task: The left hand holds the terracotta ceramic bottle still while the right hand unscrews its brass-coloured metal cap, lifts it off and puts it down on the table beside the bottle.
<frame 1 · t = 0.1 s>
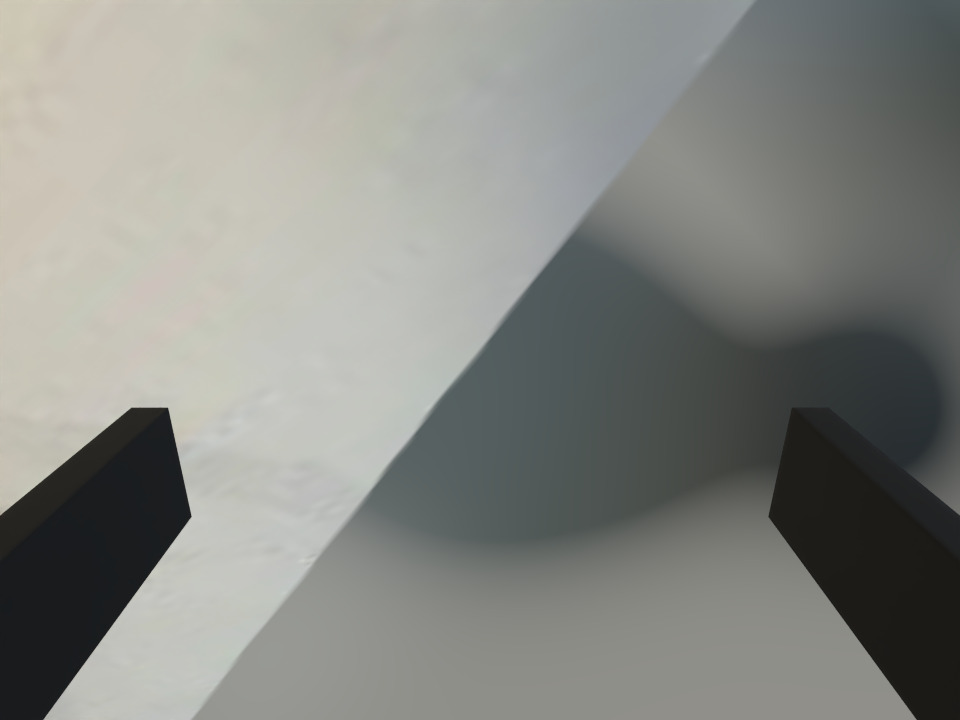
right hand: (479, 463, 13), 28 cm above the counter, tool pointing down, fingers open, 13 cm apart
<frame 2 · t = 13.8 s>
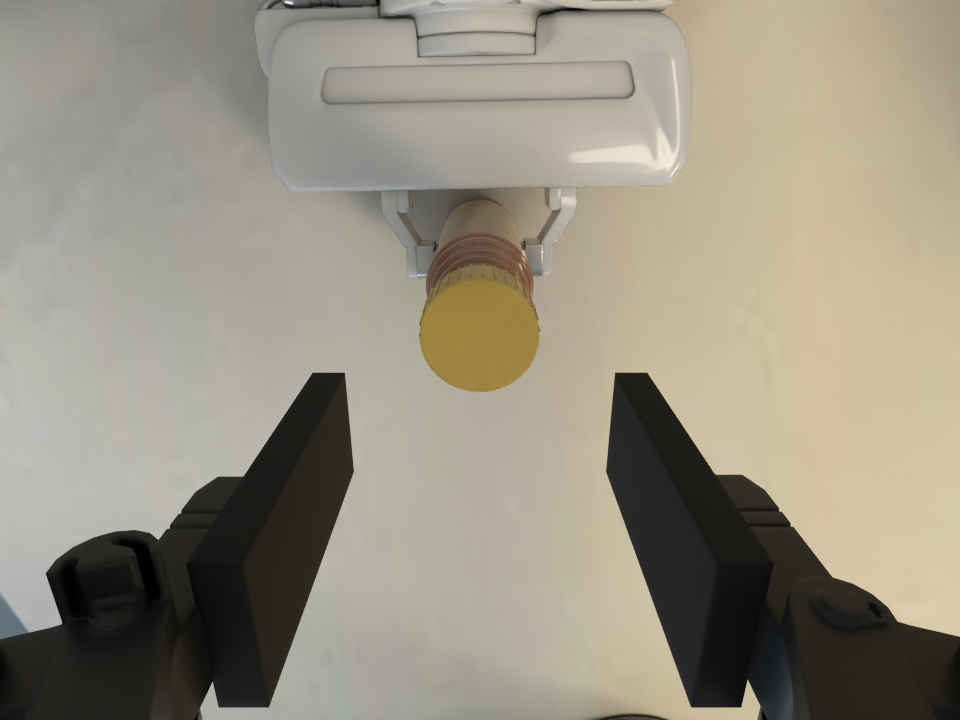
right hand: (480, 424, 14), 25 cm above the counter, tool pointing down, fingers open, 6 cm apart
left hand: (480, 275, 32), fingers closed on bottle, 5 cm apart
cap: (479, 334, 21), point 19 cm above the counter, screwed on, not yet turned
bottle: (479, 237, 38), on the counter, touching left hand
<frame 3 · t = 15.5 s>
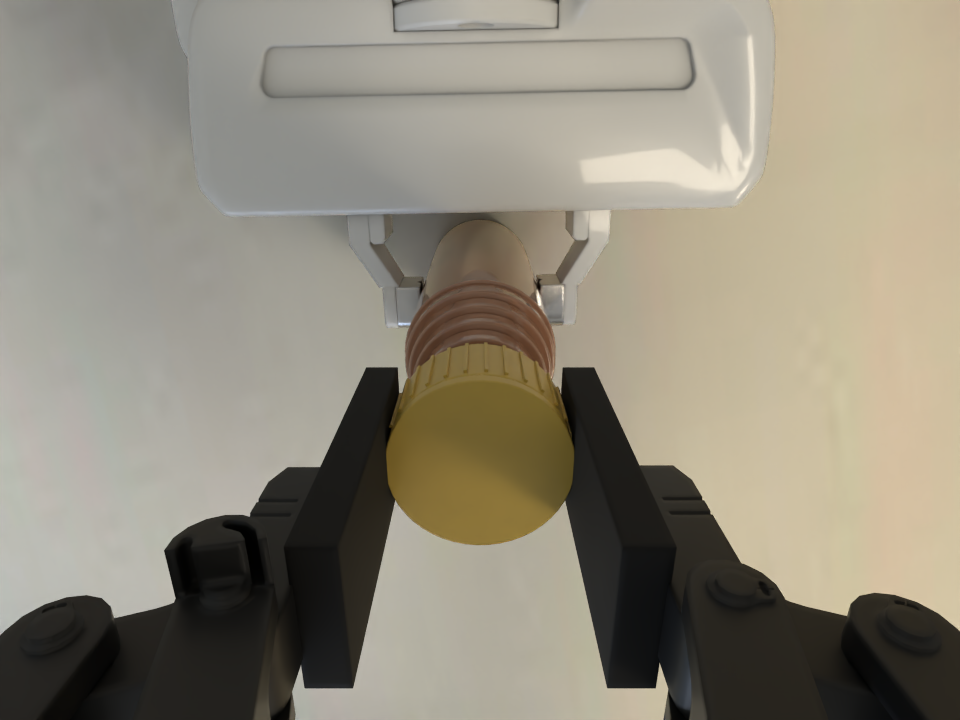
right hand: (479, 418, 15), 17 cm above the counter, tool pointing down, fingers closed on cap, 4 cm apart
left hand: (481, 322, 25), fingers closed on bottle, 5 cm apart
cap: (480, 460, 13), point 19 cm above the counter, screwed on, not yet turned, touching right hand
bottle: (480, 267, 30), on the counter, touching left hand
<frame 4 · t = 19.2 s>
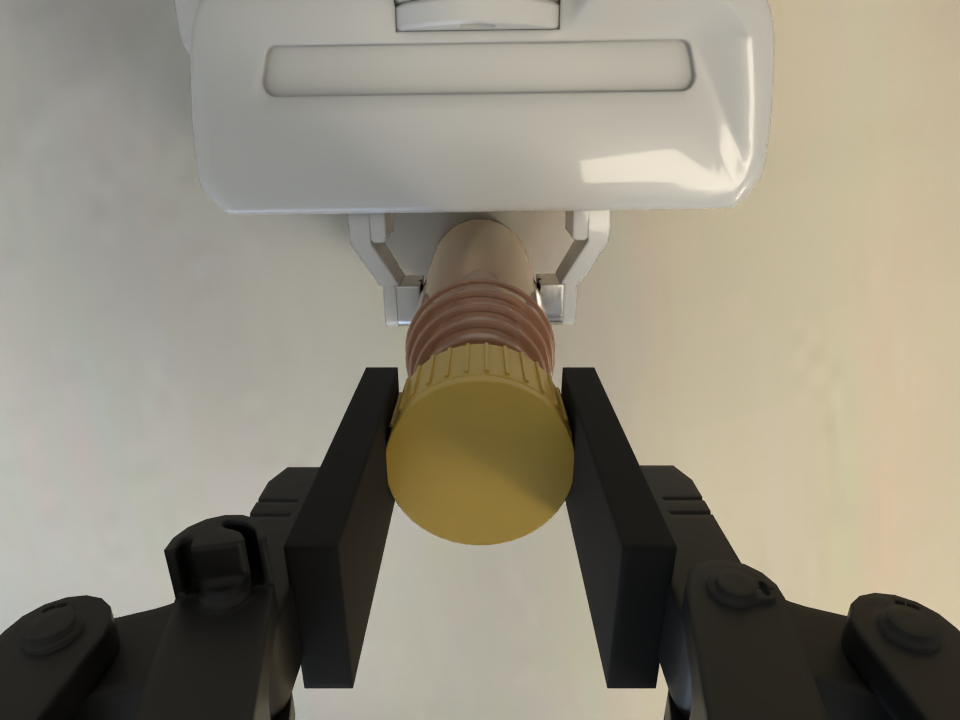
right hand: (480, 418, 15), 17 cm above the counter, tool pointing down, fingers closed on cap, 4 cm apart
left hand: (481, 321, 25), fingers closed on bottle, 5 cm apart
cap: (480, 460, 13), point 19 cm above the counter, turned 120° so far, risen 0.1 cm, still on its thread, touching right hand
bottle: (480, 266, 30), on the counter, touching left hand
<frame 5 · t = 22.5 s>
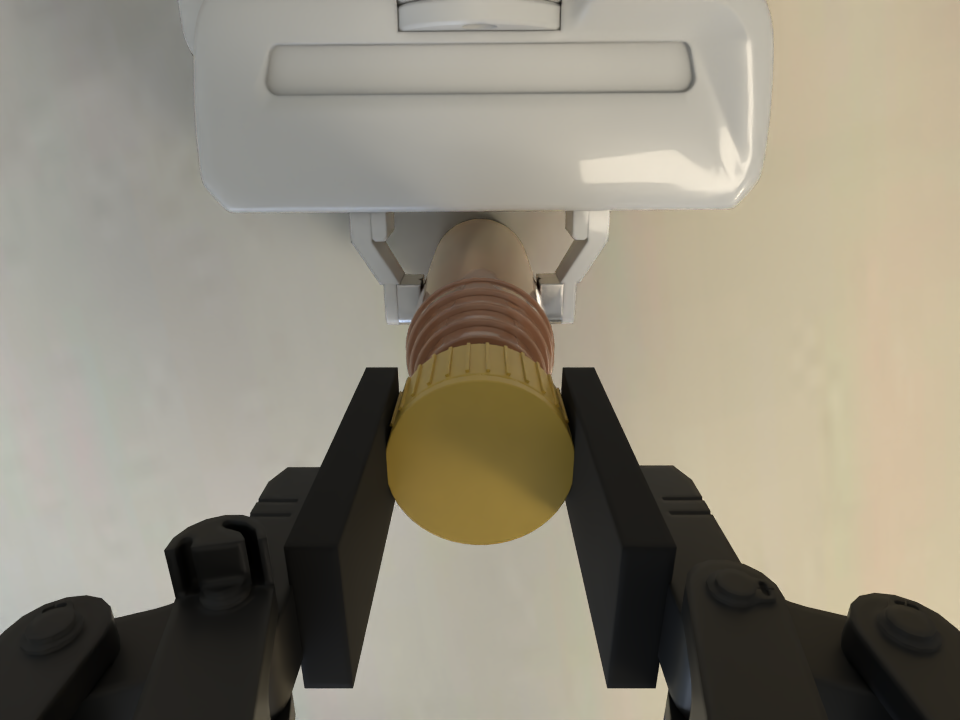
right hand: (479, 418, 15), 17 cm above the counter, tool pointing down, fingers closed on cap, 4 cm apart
left hand: (481, 320, 25), fingers closed on bottle, 5 cm apart
cap: (480, 460, 13), point 19 cm above the counter, turned 240° so far, risen 0.3 cm, still on its thread, touching right hand
bottle: (480, 266, 30), on the counter, touching left hand
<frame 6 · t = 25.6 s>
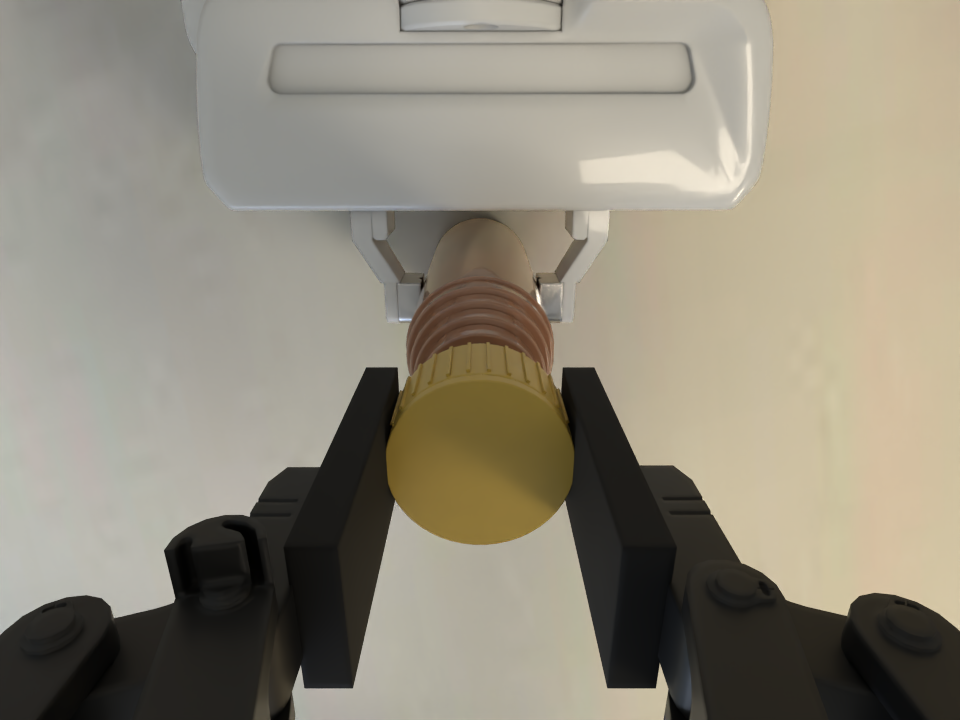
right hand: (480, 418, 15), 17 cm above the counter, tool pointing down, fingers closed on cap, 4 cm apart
left hand: (481, 319, 25), fingers closed on bottle, 5 cm apart
cap: (480, 460, 13), point 19 cm above the counter, turned 359° so far, risen 0.4 cm, still on its thread, touching right hand
bottle: (480, 265, 30), on the counter, touching left hand
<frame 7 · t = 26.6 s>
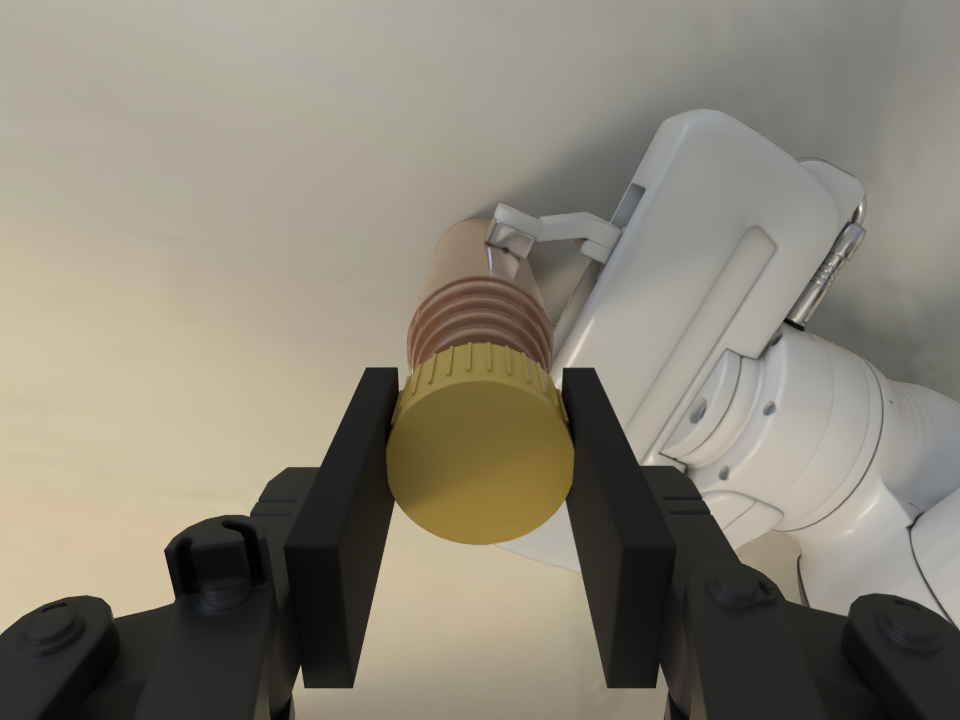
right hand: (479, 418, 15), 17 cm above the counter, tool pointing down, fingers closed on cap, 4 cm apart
left hand: (460, 290, 25), fingers closed on bottle, 5 cm apart
cap: (480, 460, 13), point 19 cm above the counter, off its thread, touching right hand
bottle: (480, 265, 31), on the counter, touching left hand
when the right hand's fingers open (1 cm above the counter, at t = 32.1 s): cap drops 1 cm, point 2 cm above the counter.
when the left hand's fingers open (6 cm above the counter, at t = 33.4 s): bottle stays where it is, on the counter.
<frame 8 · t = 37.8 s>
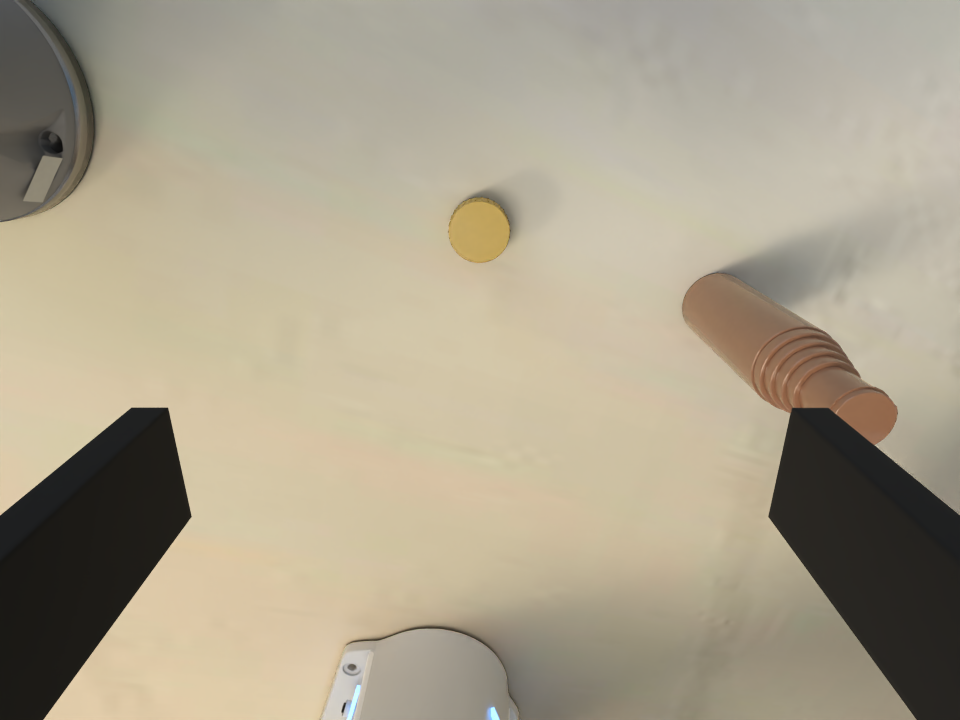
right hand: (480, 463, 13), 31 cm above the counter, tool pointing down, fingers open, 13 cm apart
cap: (479, 231, 40), point 2 cm above the counter, off its thread
bottle: (714, 304, 44), on the counter
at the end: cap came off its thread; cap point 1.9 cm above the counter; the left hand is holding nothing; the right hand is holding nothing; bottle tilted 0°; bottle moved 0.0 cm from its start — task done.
